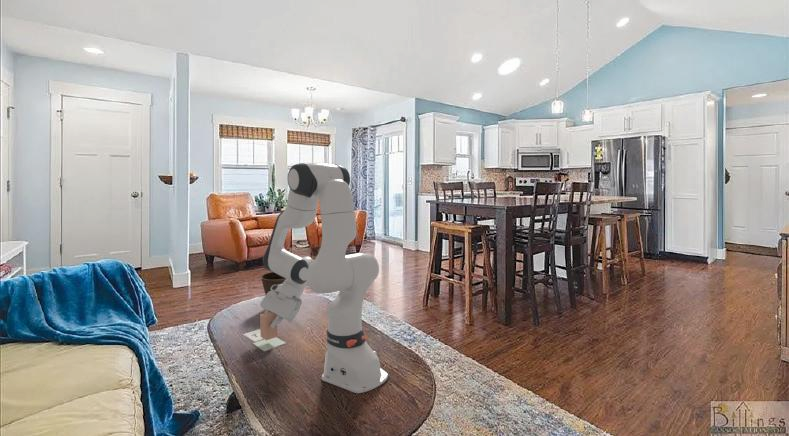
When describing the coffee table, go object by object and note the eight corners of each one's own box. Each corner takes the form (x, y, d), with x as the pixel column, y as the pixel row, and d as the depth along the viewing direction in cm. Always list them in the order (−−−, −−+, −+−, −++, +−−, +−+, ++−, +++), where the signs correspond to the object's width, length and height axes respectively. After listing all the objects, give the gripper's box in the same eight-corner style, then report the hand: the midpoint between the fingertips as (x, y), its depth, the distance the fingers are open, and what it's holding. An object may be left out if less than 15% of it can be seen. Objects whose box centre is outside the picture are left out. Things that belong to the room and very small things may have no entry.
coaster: (286, 344, 148) (286, 342, 148) (264, 352, 141) (264, 350, 141) (274, 337, 154) (274, 336, 154) (252, 344, 148) (252, 343, 148)
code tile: (277, 334, 157) (277, 333, 157) (254, 342, 150) (254, 341, 150) (265, 327, 164) (265, 327, 164) (242, 334, 157) (242, 334, 156)
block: (277, 336, 148) (276, 314, 147) (266, 340, 145) (265, 317, 143) (271, 333, 151) (270, 311, 150) (260, 336, 148) (259, 314, 146)
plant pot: (289, 312, 182) (288, 279, 180) (258, 312, 181) (256, 279, 180) (297, 301, 197) (296, 271, 195) (268, 302, 196) (266, 271, 194)
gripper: (308, 304, 147) (287, 336, 141) (280, 292, 161) (259, 321, 155) (298, 295, 144) (275, 328, 138) (270, 284, 157) (248, 313, 151)
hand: (266, 324), depth 147 cm, fingers closed on block, 4 cm apart
